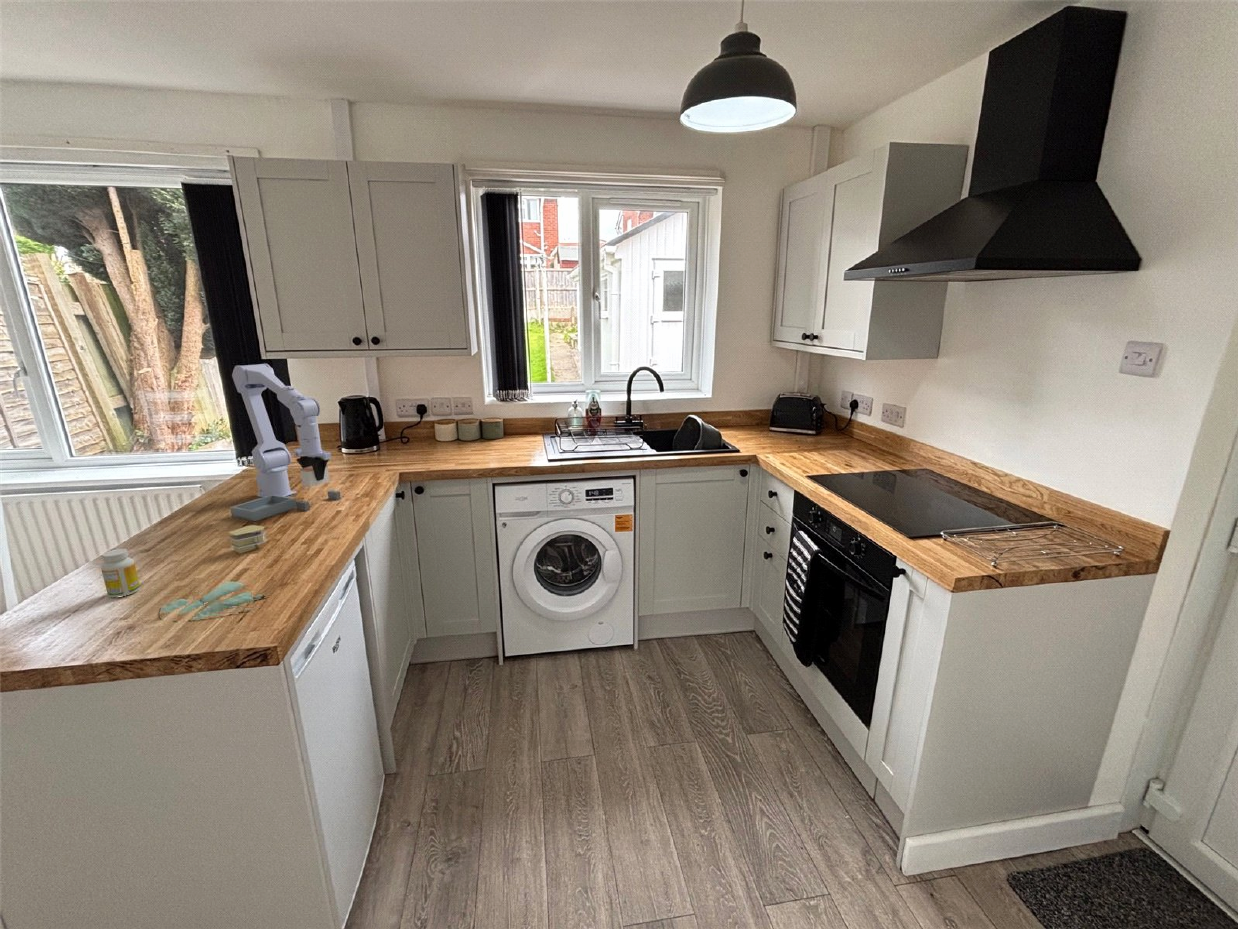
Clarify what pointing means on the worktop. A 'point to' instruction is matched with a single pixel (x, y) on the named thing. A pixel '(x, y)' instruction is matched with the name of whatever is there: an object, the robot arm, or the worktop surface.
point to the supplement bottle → (119, 573)
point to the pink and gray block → (312, 477)
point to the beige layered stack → (247, 538)
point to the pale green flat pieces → (214, 606)
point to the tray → (263, 507)
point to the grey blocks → (305, 505)
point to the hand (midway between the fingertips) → (315, 479)
